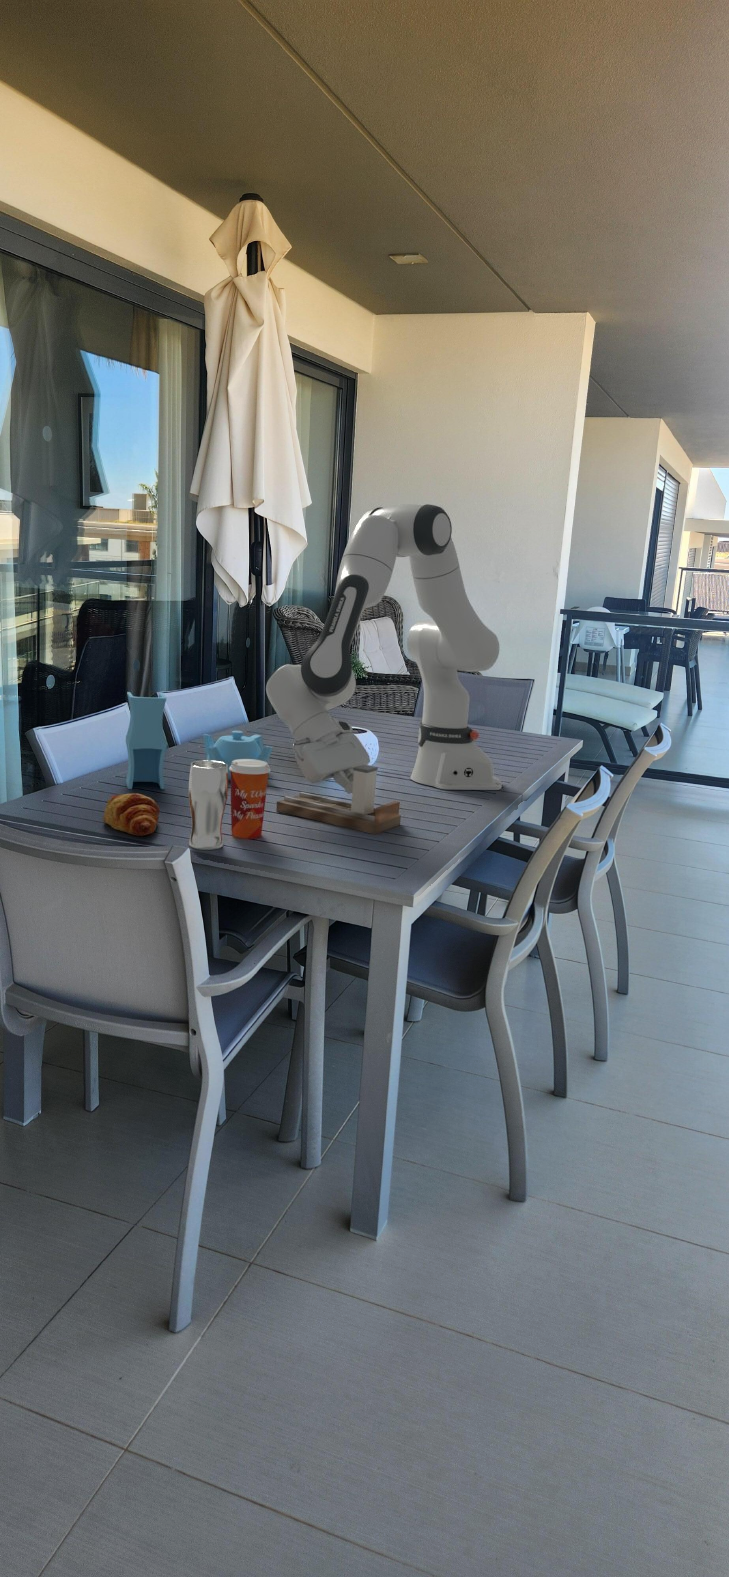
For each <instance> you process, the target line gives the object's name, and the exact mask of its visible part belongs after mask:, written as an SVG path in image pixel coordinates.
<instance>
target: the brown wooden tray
mask: <svg viewBox="0 0 729 1577" xmlns="http://www.w3.org/2000/svg"><path fill="white" fill-rule="evenodd" d="M283 798H284V799H281V800H278V801H276V812H279V813H284V814H289V815H291V816H296V817H301V818H305V819H310V820H312V821H318V822H322V823H325V824H326V823H327V824H330V825H335V826H338V827H343V828H347V829H351V830H355V831H359V832H365V833H368V834H372V835H378V834H380V833H383V832H385V831H388V830H391V829H393V828H395V827H398V826H400V825H401V821H402V820H401V818H402V816H401V815H400V814H399V813H400V805H401V804H400V801H396V800H394V801H392V802H389V803H386V804H383V805H380V806H377V807H374V812H372V813H369V814H367V815H366V814H362V813H357V812H353V811H351V804H352V802H349V801H344V800H339V799H334V798H330V797H324V796H321V795H317V794H311V793H308V792H304V791H300V792H299V793H298V794H297V795H295V796H291V797H290V796H288V795H287V796H283Z"/></svg>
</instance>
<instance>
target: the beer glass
mask: <svg viewBox="0 0 729 1577" xmlns="http://www.w3.org/2000/svg"><path fill="white" fill-rule="evenodd" d="M188 776H189V777H188V803H189V810H190V816H191V831H190V832H191V833H190V837H189V841H188V845H189V846H190V848H192V849H196V850H201V851H202V850H203V851H210V850H211V851H214V850H218V849H221V848H222V847H223V846H224V841H223V832H222V825H223V819H224V815H225V814H224V813H225V810H226V804H227V801H228V792H229V781H228V765H227V764H226V763H223V762H219V761H209V760H207V759H206V760H194V761H191V763H190V770H189V775H188Z"/></svg>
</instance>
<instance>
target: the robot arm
mask: <svg viewBox="0 0 729 1577" xmlns="http://www.w3.org/2000/svg"><path fill="white" fill-rule="evenodd" d="M452 527H453V526H452V521H451V518H450V516H449V515H448V514H447V512H446V511H445V509H444V508H443V507H441V506H438V505H435V504H427V503H426V504H424V505H423V504H412V503H411V504H410V503H409V504H407V503H406V504H405V503H404V504H400V505H394V506H386V507H383V506H382V507H381V506H379V507H375V508H372V509H369V510H368V511H366V512H365V513H364V514H363V515H362V517H361V518H360V519H359V521H357V524H356V525H355V527H354V529H353V531H352V533H351V535H350V537H349V539H348V542H347V544H346V547H345V549H344V552H343V555H342V558H341V562H340V564H339V567H338V568H339V569H338V573H337V578H336V585H335V590H334V591H335V592H334V595H333V596H334V597H333V600H332V602H331V605H330V608H329V611H328V612H327V615H326V618H325V622H324V624H323V627H322V629H321V633H320V634H319V636H318V638H317V639H316V641H315V642H314V644H312V646H311V647H310V648H309V649H308V650H307V652H306V653H305V655H304V656H303V658H302V661H301V664H289V663H288V664H283V665H281V666H280V667H279V668H277V669H276V670H275V671H274V672H273V673H272V674H271V675H270V676H269V678H268V680H267V682H266V686H265V691H266V695H267V698H268V701H269V702H270V703H271V706H272V708H273V709H274V711H275V712H276V714H277V715H278V717H279V718H280V720H281V722H283V723H284V724H286V726H287V727H288V729H289V732H290V734H291V736H292V739H293V740H294V741H293V743H292V748H291V749H292V752H293V753H294V758H295V760H296V761H295V762H296V763H297V765H298V767H299V769H300V771H301V772H302V775H303V776H304V778H305V779H306V780H307V781H308V782H309V783H311V784H316V783H319V782H322V781H323V782H324V781H326V780H330V779H333V780H334V782H335V783H336V784H338V785H339V786H341V788H343V789H344V791H345V792H346V794H349V795H350V794H352V791H353V778H354V770H353V769H354V767H357V766H360V765H364V764H365V765H369V764H370V763H371V759H370V758H371V757H370V754H369V753H368V751H367V749H366V748H365V747H364V745H363V744H362V741H361V740H360V739H359V738H358V737H357V735H356V734H354V733H353V732H352V731H353V730H354V729H353V727H352V725H351V724H350V723H349V722H347V721H343V720H339V719H337V718H335V717H331V715H330V714H329V711H331V710H333V709H336V708H338V707H340V706H342V705H344V704H346V703H347V702H349V701H350V700H351V699H352V697H354V696H353V695H354V694H355V692H356V688H357V680H356V676H355V673H354V671H353V666H352V660H351V645H352V643H353V640H354V636H355V634H356V631H357V628H358V625H359V622H360V618H361V616H362V614H363V613H364V610H366V609H368V608H371V607H374V606H377V605H378V604H379V603H380V602H381V601H382V599H383V597H384V595H385V593H386V591H387V589H388V587H389V585H390V582H391V578H392V576H393V571H394V568H395V564H396V560H397V558H407V557H409V564H410V570H411V576H412V580H413V583H414V588H415V592H416V596H417V600H418V605H419V606H420V608H421V610H422V611H423V612H424V613H426V615H428V617H430V618H431V619H430V620H422V621H419V622H416V623H414V624H413V625H412V626H411V628H410V629H409V631H408V634H407V637H406V648H407V651H408V654H409V655H410V657H411V658H413V661H414V662H415V664H416V666H417V668H418V671H419V674H420V677H421V678H420V679H421V682H422V686H423V706H422V708H423V709H422V718H421V719H422V720H421V722H420V724H419V728H418V737H417V739H418V740H417V743H418V751H417V755H416V760H415V763H414V767H413V769H412V773H411V775H410V779H411V780H412V781H413V782H415V783H419V784H421V785H425V786H431V787H435V788H437V789H439V790H449V791H450V790H452V791H453V790H461V791H463V790H464V791H466V790H467V791H471V790H473V791H499V790H502V785H503V784H502V781H501V780H500V779H499V778H498V777H496V776H495V775H494V774H495V773H494V772H495V770H494V764H493V760H492V759H491V758H490V757H489V756H488V755H487V754H486V753H485V751H483V750H482V749H481V748H480V747H479V746H478V745H477V744H476V743H474V742H473V741H475V740H478V738H480V734H479V732H478V731H477V730H474V729H473V728H471V727H469V726H468V721H469V720H468V719H469V710H470V701H471V699H470V698H471V697H470V693H469V691H468V690H467V689H466V688H465V687H464V686H463V684H462V683H461V681H460V678H459V675H458V671H463V672H468V673H469V672H471V673H472V672H482V671H483V672H484V671H487V670H490V669H491V668H493V666H494V665H495V664H496V662H497V660H498V658H499V654H500V642H499V639H498V637H497V635H496V633H495V632H493V630H491V629H489V627H488V626H486V625H485V624H484V622H483V621H482V620H481V619H480V617H479V615H478V614H477V612H476V611H475V609H474V608H473V606H472V604H471V602H470V600H469V598H468V594H467V592H466V589H465V585H464V581H463V575H462V572H461V567H460V563H459V562H460V561H459V558H458V553H457V549H456V547H455V544H454V542H453V538H452V533H453V532H452V530H453V528H452Z"/></svg>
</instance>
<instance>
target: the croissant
mask: <svg viewBox="0 0 729 1577" xmlns="http://www.w3.org/2000/svg"><path fill="white" fill-rule="evenodd" d="M159 814H160V807H159V805H158V804H157V803H156V801H155V800H154V799H152V797H149V796H146V795H144V794H141V793H126V794H125V793H121V794H116V795H112V796H111V797H110V799H109V800H108V801H107V802H106V805H105V808H104V814H103V822H104V823H105V824H107V825H109V826H110V827H111V828H112V829H114V830H117V831H120V832H124V833H128V834H129V835H133V836H139V837H140V836H141V837H142V836H146V835H150V834H152V833H154V832H155V831H156V828H157V826H158V824H159Z"/></svg>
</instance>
